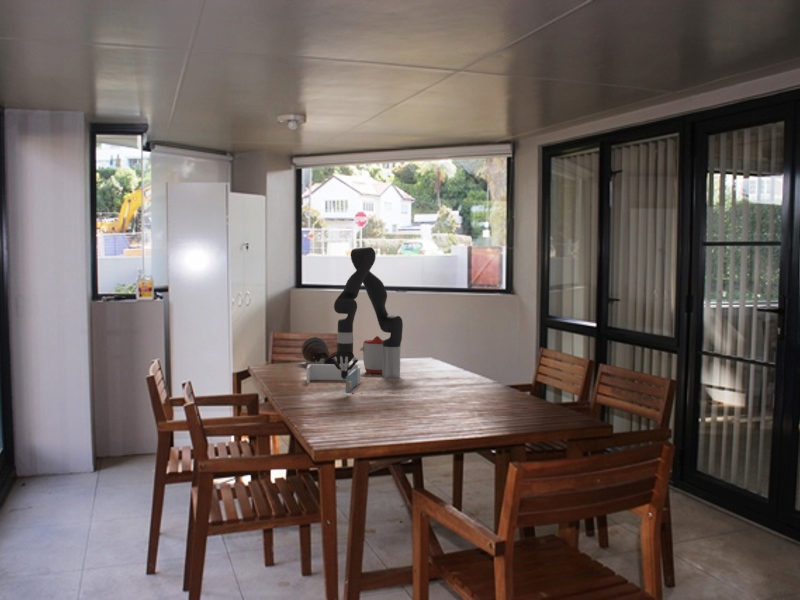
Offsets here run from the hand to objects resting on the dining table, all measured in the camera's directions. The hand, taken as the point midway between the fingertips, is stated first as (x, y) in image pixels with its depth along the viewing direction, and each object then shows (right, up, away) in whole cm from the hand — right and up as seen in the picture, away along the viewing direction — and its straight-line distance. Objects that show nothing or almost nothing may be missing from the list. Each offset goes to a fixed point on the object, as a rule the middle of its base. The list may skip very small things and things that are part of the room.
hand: (344, 378), depth 342 cm
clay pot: (-21, -1, +78) cm, 80 cm away
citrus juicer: (+12, -3, +59) cm, 61 cm away
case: (-7, -5, +23) cm, 24 cm away
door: (+3, -5, +5) cm, 8 cm away
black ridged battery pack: (-7, -4, +40) cm, 40 cm away
